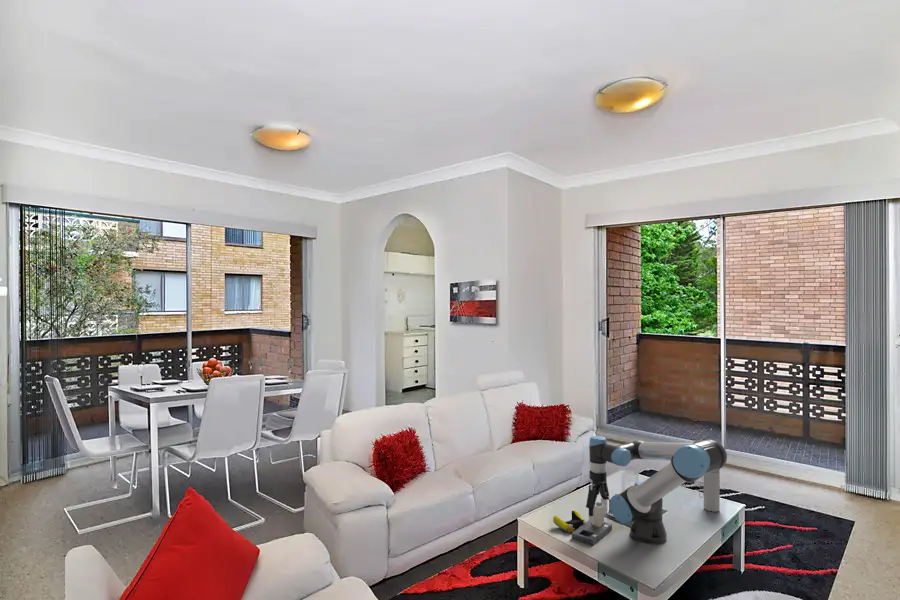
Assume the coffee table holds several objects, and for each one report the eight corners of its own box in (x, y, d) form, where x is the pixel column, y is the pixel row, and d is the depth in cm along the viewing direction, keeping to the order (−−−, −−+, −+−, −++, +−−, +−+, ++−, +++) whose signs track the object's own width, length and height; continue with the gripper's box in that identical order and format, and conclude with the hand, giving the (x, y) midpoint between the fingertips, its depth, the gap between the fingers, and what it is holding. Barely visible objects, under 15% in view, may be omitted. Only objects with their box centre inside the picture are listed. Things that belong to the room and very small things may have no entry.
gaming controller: (551, 527, 242) (566, 535, 234) (551, 515, 242) (566, 523, 234) (574, 519, 250) (590, 527, 242) (574, 508, 250) (590, 516, 242)
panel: (612, 529, 239) (612, 523, 239) (592, 545, 224) (592, 539, 224) (591, 523, 246) (591, 517, 246) (571, 538, 230) (571, 532, 230)
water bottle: (720, 508, 262) (720, 458, 262) (718, 513, 256) (719, 462, 256) (700, 504, 267) (700, 455, 267) (698, 509, 261) (698, 459, 260)
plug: (603, 529, 240) (603, 503, 239) (600, 532, 237) (600, 506, 236) (595, 526, 242) (595, 501, 242) (591, 529, 239) (591, 504, 239)
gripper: (601, 462, 251) (601, 507, 251) (578, 476, 232) (578, 524, 233) (616, 465, 246) (616, 511, 246) (594, 479, 227) (594, 529, 228)
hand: (597, 517), depth 239 cm, fingers open, 12 cm apart
